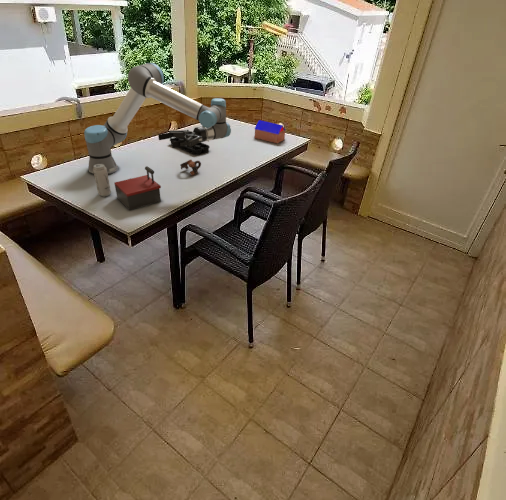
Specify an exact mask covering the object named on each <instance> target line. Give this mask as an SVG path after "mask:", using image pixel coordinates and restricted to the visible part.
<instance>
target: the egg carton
mask: <svg viewBox="0 0 506 500" xmlns="http://www.w3.org/2000/svg"><path fill="white" fill-rule="evenodd" d="M185 137H186V136H185ZM180 140H185V139H184V138H177V137H172V138H171V139H170V138H169V142H170V144H171V145H172V142H175V141H180ZM178 148H179V149H181V150H183V151H186V152H188V153H191V154H193V155H195V156H197V155H201V154H202V153H208V152H209V149H210V145H209V144H207V143H204V142H200V143H197V144H195V145H193V146H192V147H189V146H186V145H185V146H182V147H178Z"/></svg>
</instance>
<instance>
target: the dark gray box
mask: <svg viewBox="0 0 506 500" xmlns="http://www.w3.org/2000/svg"><path fill="white" fill-rule="evenodd" d="M114 188H115V194H116V198H117V200H119V201H120V202H121V203H122V204H123V205H124V206H125V207H126V208H127V210H128V211H132V210H135V209H139V208H142V207H147V206H149V205H154V204H156V203H161V202H162V199H161V198H162V197H161V191H160V190H161V188H159V189H155V190H151V191H147V192H143V193H139V194H136V195H132V196H128V197H127V196H126V195H125V194H124V193H123V192H122V191H121V190H120V189H119V188H118V187H117V186H116V185H115V184H114Z"/></svg>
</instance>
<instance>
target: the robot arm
mask: <svg viewBox="0 0 506 500" xmlns="http://www.w3.org/2000/svg"><path fill="white" fill-rule="evenodd" d="M127 81H128V82H127V83H128V86H130V88H129V90H128V92H127V93H126V95H125V96H124V98H123V100H122V101H121V103H120V104H119V105H118V108H117V109H116V111H115V112H114V114H113V116H109V117H108V118H107V120H106V121H105V122H104V124H103V125H101V124H94V125H91V126H88V127H86V128H85V130H84V132H83V134H84V135H83V136H84V140H85V144H86V149H87V152H88V159H89V160H88V166H87V169H88V172H89V174H91V175H94V172H93V168H94V165H96V164H104V166H105V167H106V169H107V174H108V175H111V174H114V173H115V172H117V171H118V165H117V162H116V160H115V159H114V156H113V154H112V150H111V148H113V147H115V146H117V145H118V144H120V143H122V142H124V141H125V139H126V138H127V135H128V131H129V128H128V126H129V124H130V123H131V122H132V120H133V119H134V118H135V116H136V114H137V113H138V111H139V109H140V108H141V106H142V105H143V104H144V102H145V101H146V99H150V98H151V99H153V100H155V101H157V102H160V103H162V104H163V105H165V106H168V107H170V108H172V109H173V110H176V111H178V112H180V113H181V114H184V115H186V116H188V117H190V118H192V119H194V120H196V121H198V122H199V124H200V125H201V126H195V127H194V128H193V130H189V129H179V130H178V129H177V130H168V132H164V133H158V134H157V136H158V141H164V140H168V139H169V140H170V139H171V138H176V137H177V138H184V139H185V140H180V141H175V142H172V144H171V148H172V149H178V148H179V147H182V146H185V145H186V146H189V147H192V146H193V145H195V144H197V143H200V142H201V143H204V142H208V143H209V142H210V141H214V140H219V139H225V138H228V137H230V135H231V134H232V128H231V125H230V124H229V122H227V102H226V99H224V98H221V97H219V98H217V97H216V98H212V99H211V100H210V107H209V106H206V105H204V104H203V103H200V102H198V101H196V100H194V99H192V98H190V97H188V96H186V95H184V94H182V93H180V92H178V91H176V90H173V89H172V88H170V87H168V86H166V85H164V81H165V77H164V72H163V70H162V68H161V67H160V66H159V65H157V64H156V63H153V62H146V63H143V64H140V65H135V66H133V67H132V68H130V70H129V71H128V74H127ZM185 136H186V137H185Z"/></svg>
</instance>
